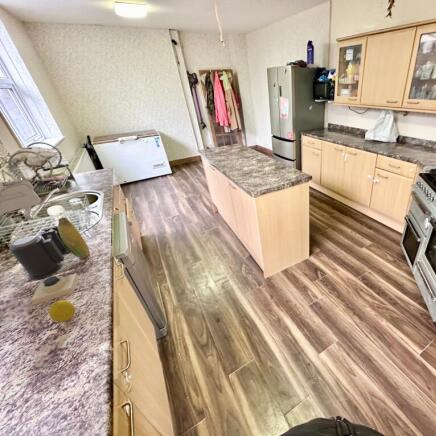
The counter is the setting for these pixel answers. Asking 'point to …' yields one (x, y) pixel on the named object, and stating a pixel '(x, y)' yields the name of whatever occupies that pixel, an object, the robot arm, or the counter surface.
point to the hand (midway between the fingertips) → (10, 224)
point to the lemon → (62, 311)
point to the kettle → (37, 256)
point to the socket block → (55, 289)
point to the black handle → (55, 239)
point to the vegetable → (72, 238)
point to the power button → (51, 281)
